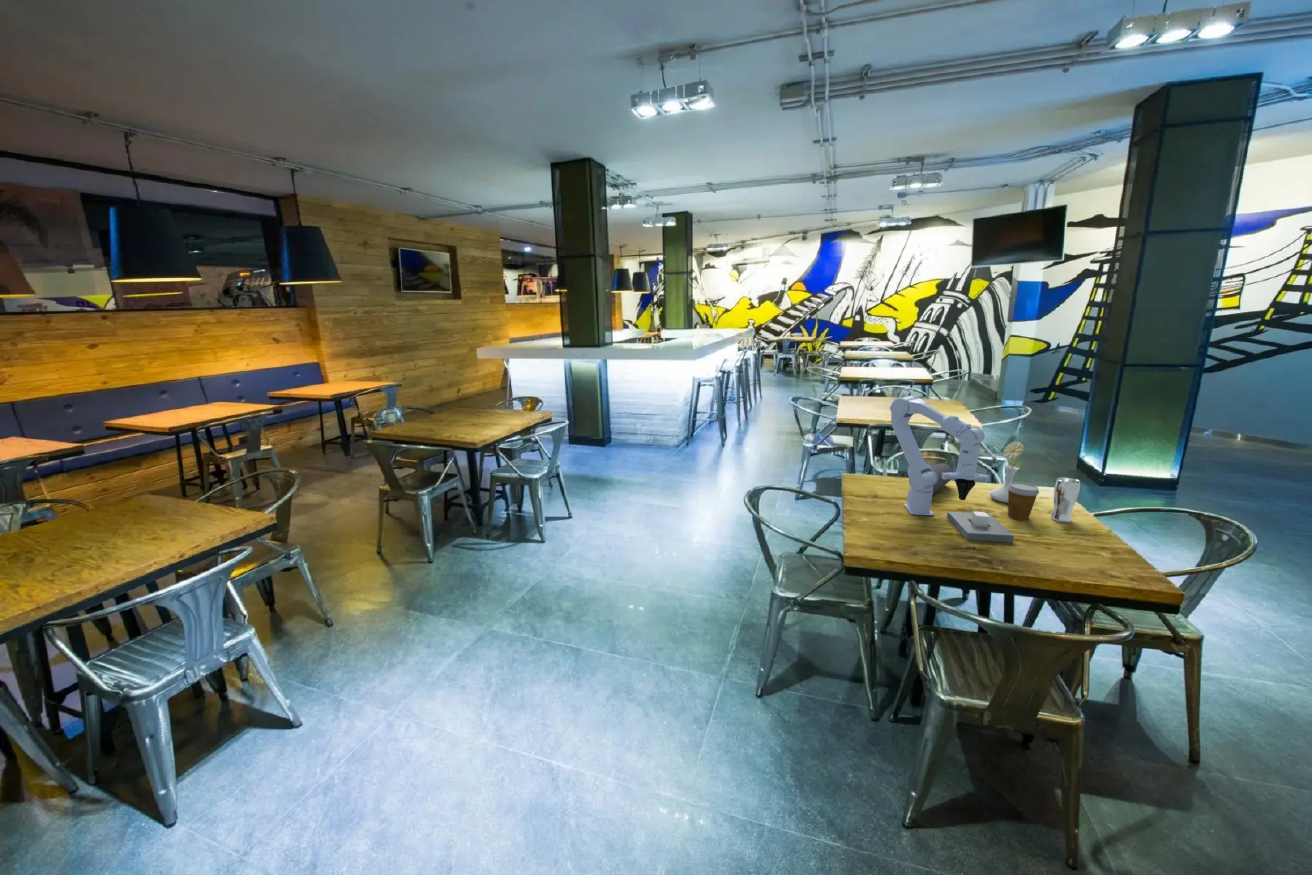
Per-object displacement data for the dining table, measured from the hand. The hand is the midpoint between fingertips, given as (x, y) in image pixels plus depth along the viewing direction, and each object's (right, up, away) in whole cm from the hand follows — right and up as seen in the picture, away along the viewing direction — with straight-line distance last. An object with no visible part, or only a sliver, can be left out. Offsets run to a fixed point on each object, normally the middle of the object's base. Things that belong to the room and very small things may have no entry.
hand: (961, 499), depth 182 cm
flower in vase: (+31, -4, +23) cm, 39 cm away
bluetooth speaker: (+8, -1, +35) cm, 35 cm away
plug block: (+4, -10, -2) cm, 12 cm away
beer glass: (+39, -8, +6) cm, 40 cm away
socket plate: (+4, -10, -2) cm, 11 cm away
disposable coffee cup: (+25, -8, +8) cm, 28 cm away
